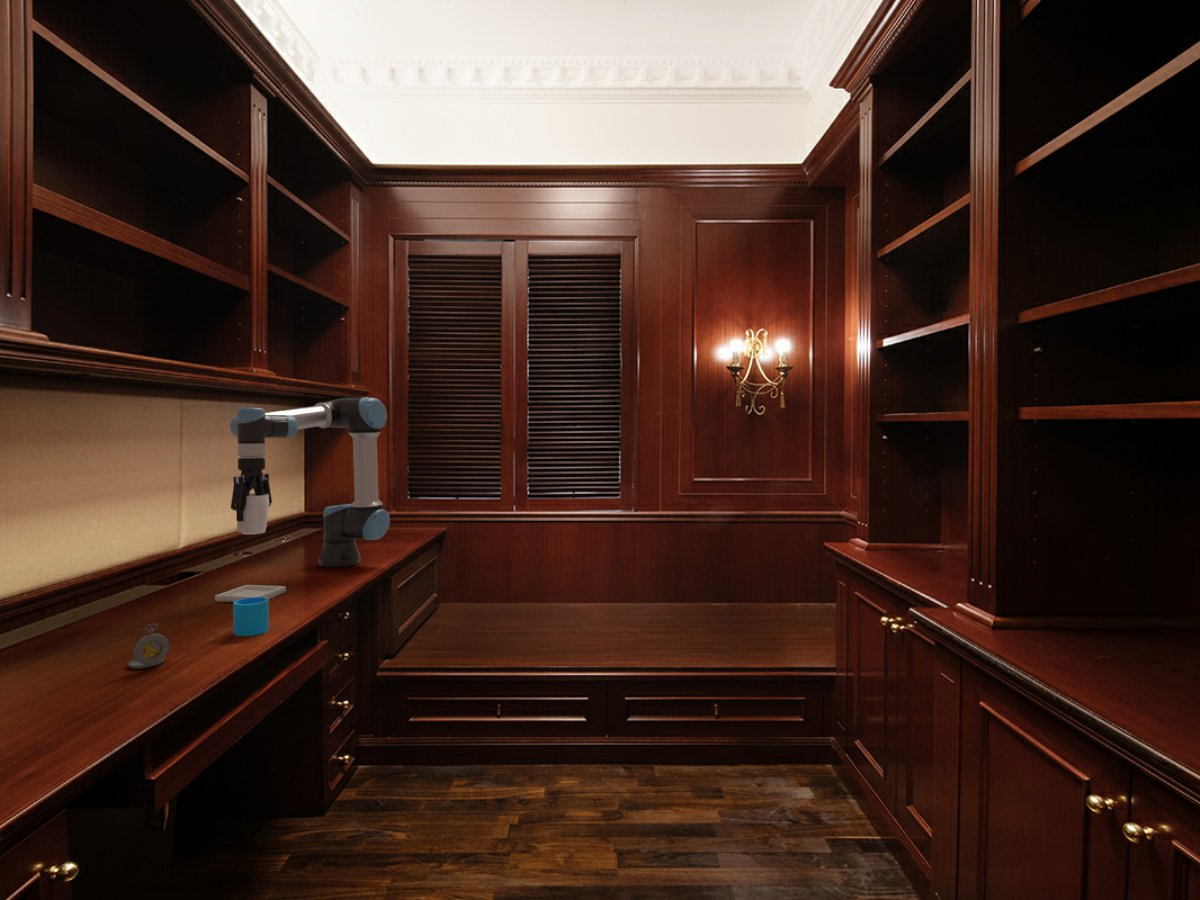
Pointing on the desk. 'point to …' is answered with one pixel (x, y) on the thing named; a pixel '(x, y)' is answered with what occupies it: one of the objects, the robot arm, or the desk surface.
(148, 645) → the pocket watch
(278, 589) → the tray
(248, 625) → the mug
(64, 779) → the desk surface
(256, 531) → the cup
